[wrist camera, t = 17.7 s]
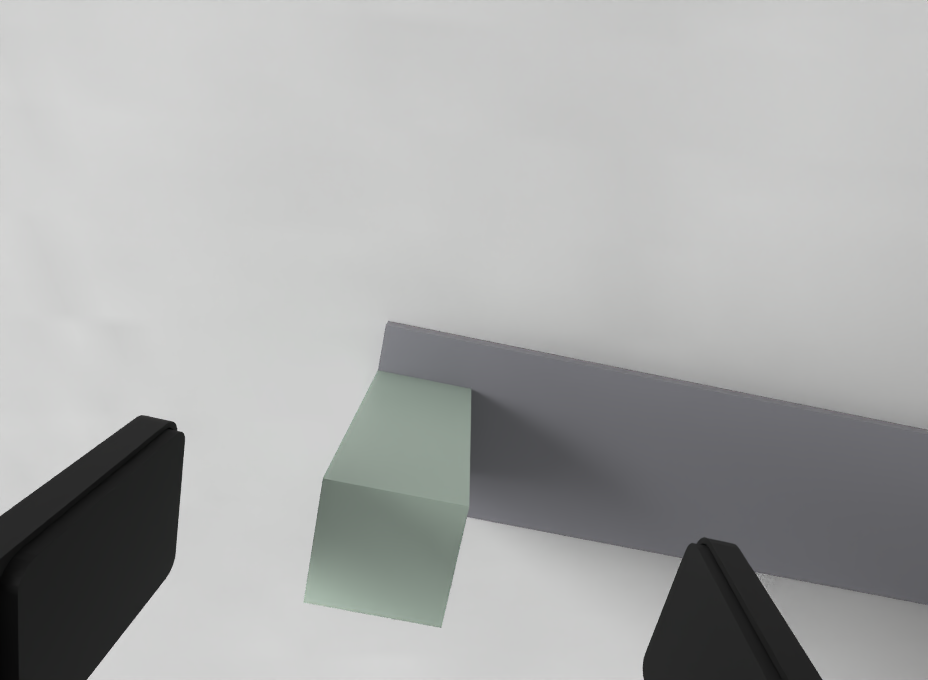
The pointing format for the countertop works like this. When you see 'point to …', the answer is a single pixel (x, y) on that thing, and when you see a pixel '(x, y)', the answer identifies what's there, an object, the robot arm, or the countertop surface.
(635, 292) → the countertop surface
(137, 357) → the countertop surface
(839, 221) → the countertop surface
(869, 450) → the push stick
